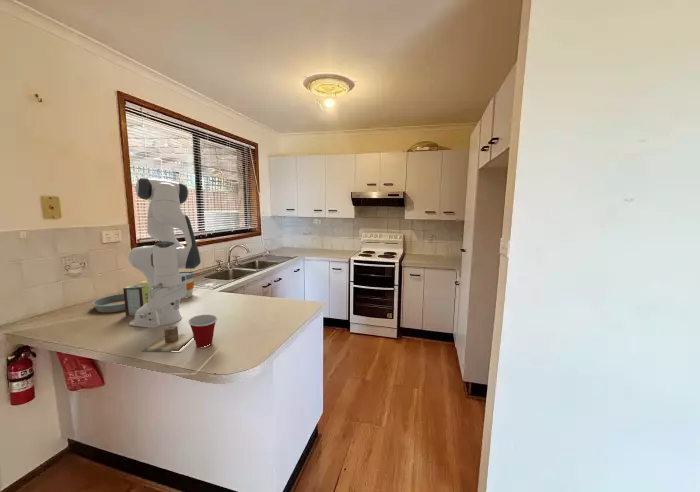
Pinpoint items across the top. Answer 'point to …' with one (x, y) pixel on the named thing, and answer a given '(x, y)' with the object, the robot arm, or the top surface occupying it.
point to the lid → (170, 340)
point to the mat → (154, 351)
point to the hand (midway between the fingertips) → (169, 313)
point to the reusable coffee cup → (188, 283)
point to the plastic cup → (203, 329)
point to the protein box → (135, 297)
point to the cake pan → (104, 305)
